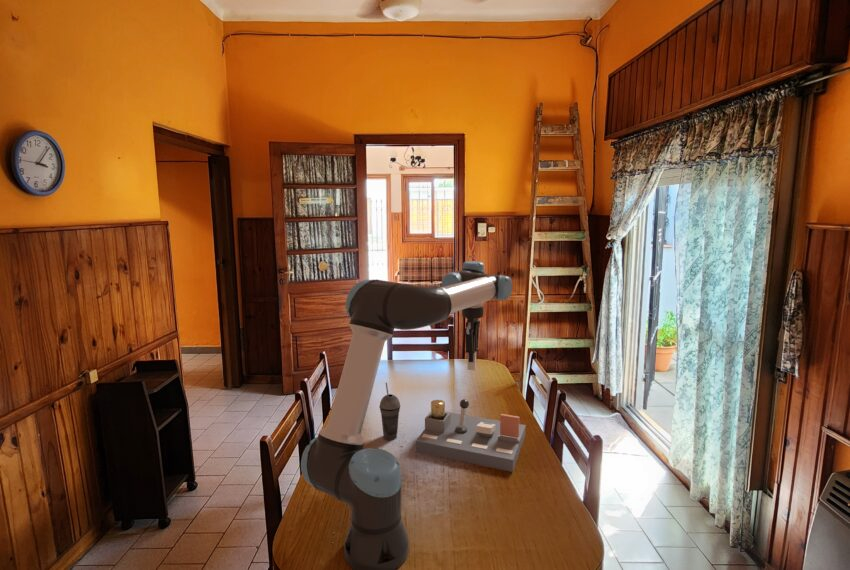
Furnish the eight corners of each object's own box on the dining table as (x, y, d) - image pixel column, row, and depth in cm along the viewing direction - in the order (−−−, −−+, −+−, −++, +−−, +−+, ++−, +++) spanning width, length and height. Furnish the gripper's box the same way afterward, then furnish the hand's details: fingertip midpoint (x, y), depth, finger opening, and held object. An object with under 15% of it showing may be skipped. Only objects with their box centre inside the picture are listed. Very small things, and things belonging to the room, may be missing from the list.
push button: (442, 423, 159) (442, 406, 158) (428, 420, 161) (429, 404, 159) (446, 417, 163) (446, 401, 162) (433, 414, 165) (433, 398, 164)
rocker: (490, 434, 152) (491, 427, 152) (475, 431, 154) (476, 425, 154) (495, 430, 158) (495, 423, 159) (480, 427, 160) (481, 421, 160)
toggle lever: (464, 426, 157) (468, 399, 159) (455, 424, 159) (459, 398, 161) (467, 426, 160) (470, 400, 162) (458, 424, 161) (461, 398, 163)
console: (512, 472, 142) (513, 447, 141) (415, 452, 153) (415, 429, 152) (525, 435, 164) (526, 414, 163) (439, 420, 175) (439, 400, 174)
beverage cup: (397, 443, 159) (397, 387, 155) (377, 441, 160) (376, 386, 157) (402, 433, 166) (402, 379, 162) (383, 431, 167) (382, 378, 164)
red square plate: (518, 438, 152) (519, 418, 151) (500, 434, 154) (500, 415, 153) (518, 436, 153) (519, 416, 152) (500, 433, 155) (501, 413, 154)
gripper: (478, 310, 156) (477, 377, 160) (487, 302, 168) (486, 364, 172) (457, 308, 158) (456, 374, 163) (467, 301, 170) (466, 362, 175)
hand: (471, 369), depth 167 cm, fingers closed
